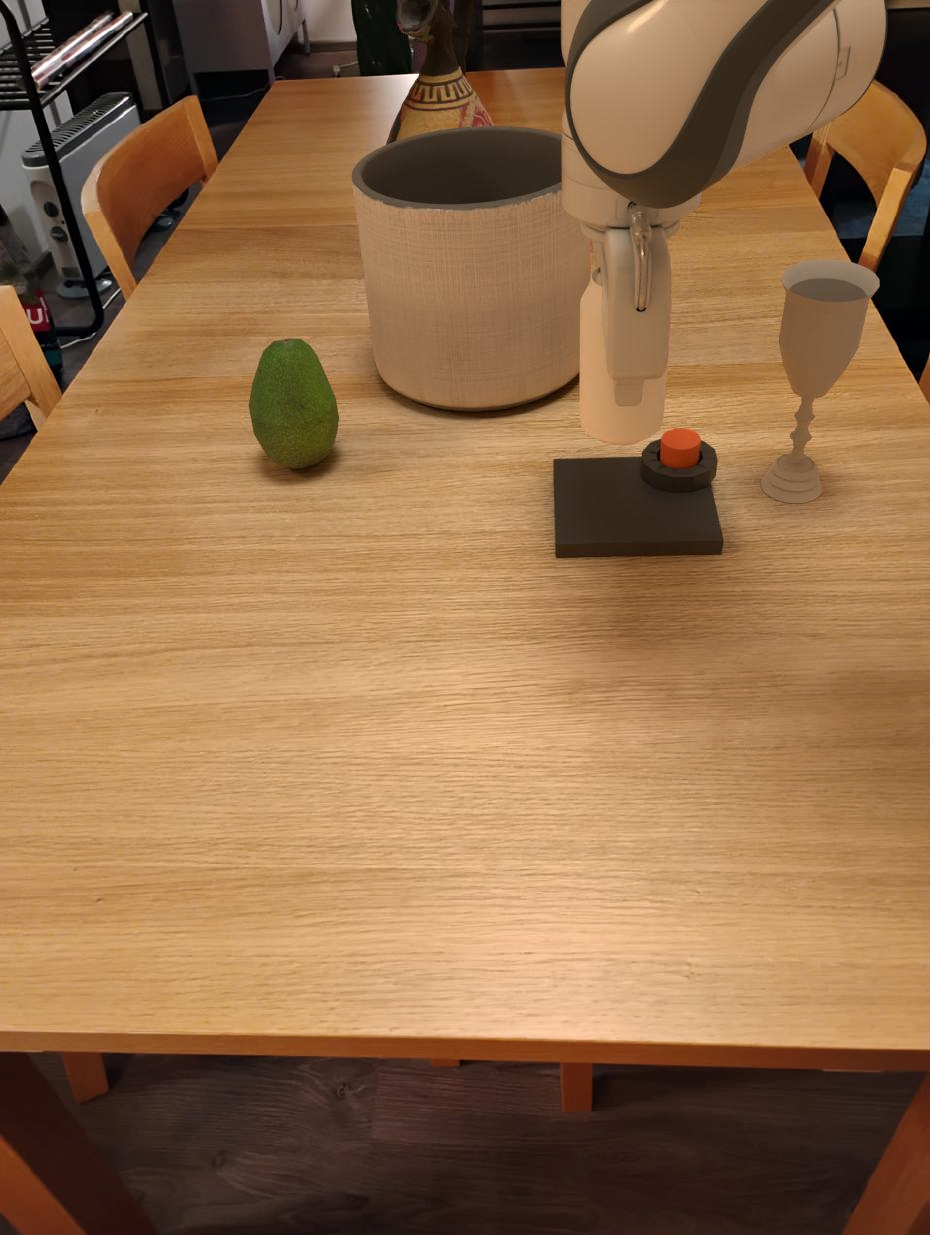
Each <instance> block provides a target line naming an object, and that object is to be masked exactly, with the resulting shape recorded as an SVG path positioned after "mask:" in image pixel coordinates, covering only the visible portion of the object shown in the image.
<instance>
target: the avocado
mask: <svg viewBox="0 0 930 1235" xmlns="http://www.w3.org/2000/svg"><path fill="white" fill-rule="evenodd" d="M250 389H251V390H250V394H249V400H248V409H249V414H250V415H249V416H250V420H251V426H252V431H253V434H254V436H255V438H256V440H257V442H258V444H259V446H260V448H261V449H262V450H263V452H264V453H265V455H266V457H267V458H268V459H270V460H271V461H272V462H274V463H275V464H277V465H279V466H281V467H284V468H287V469H293V470H294V469H295V470H303V469H305V468H308V467H311V466H313V465H315V464H318V463H320V462H321V461H323V460H324V459H325V458H326V457H327V456H328V455H329V454H330V452H331V451H332V450H333V447H334V444H335V442H336V438H337V435H338V430H339V424H340V423H339V422H340V415H339V409H338V402H337V398H336V395H335V392H334V390H333V388H332V386H331V384H330V381H329V378H328V376H327V374H326V372H325V370H324V368H323V366H322V363H321V361H320V358H319V356H318V355H317V353H316V351H315V350H314V349H313V347H312V346H311V345H310V344H309V343H308V342H306V341H305V340H303V339H302V338H286V339H285V338H284V339H278V340H273V341H272V342H271V343H270V344H269V345H268V346H267V347H265V348H264V350H263V351H262V354H261V355H260V358H259V361H258V364H257V368H256V371H255V373H254V376H253V380H252V383H251V388H250Z"/></svg>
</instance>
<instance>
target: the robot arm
mask: <svg viewBox="0 0 930 1235" xmlns="http://www.w3.org/2000/svg"><path fill="white" fill-rule="evenodd" d="M560 5H561V7H560V12H561V13H560V46H561V47H560V48H561V54H562V59H563V62H564V66H565V73H564V90H563V93H564V94H563V95H564V108H563V112H562V117H561V135H562V206H563V208H564V209H565V211H566V212H567V213H568V214H569V215H571V216H573V217H574V218H576V219H579V220H581V230H582V233H583V234H584V235H585V236H586V237H588V238H589V239H590V240H591V245H592V250H593V255H594V263H595V269H596V268H598V267H599V266H600V277H601V285H602V327H603V336H604V345H605V354H606V363H607V370H608V374H609V376H610V377H611V378H612V379H614V380H615V381H614V395H615V402H616V404H617V405H619V406H636V405H638V404H640V402H641V400H642V386H643V381H644V380H646V379H657V378H660V377H662V376H663V375H664V373H665V370H666V367H667V368H668V366H667V362H668V363H669V353H668V350H669V351H670V340H669V332H670V333H671V326H670V311H671V297H672V264H671V252H670V249H669V245H668V241H667V240H669V239H670V238H672V237H673V236H674V235H676V233H678V231H679V230H680V225H681V224H680V223H681V219H684V218H686V217H687V216H689V215H691V214H692V213H694V212H695V211H696V210H697V209H698V208H699V207H700V205H701V203H702V200H703V192H704V191H705V190H707V189H708V188H711V187H712V186H714V185H715V184H717V183H718V182H720V181H722V180H723V179H724V178H725V177H726V176H728V175H730V174H732V173H734V172H736V171H739V170H740V169H743V168H744V167H746V166H748V165H750V164H753V163H754V162H757V161H759V160H760V159H763V158H765V157H767V156H770V155H772V154H773V153H776V152H778V151H779V150H781V149H784V148H786V147H787V146H789V145H790V144H792V143H794V142H796V141H798V140H800V139H802V138H804V137H807V136H808V135H810V134H813V133H814V132H817V131H818V130H819V129H821V128H824V127H826V126H828V125H829V124H830V123H832V122H833V121H835V120H836V119H838V118H840V117H841V116H843V115H844V114H845V113H847V112H849V111H850V110H851V109H852V108H853V107H854V106H856V105H857V104H858V103H859V101H861V99H862V98H863V96H864V95H865V94H866V93H867V91H868V90H869V89H870V87H871V85H872V83H873V81H874V80H875V77H876V76H877V74H878V71H879V69H880V66H881V63H882V61H883V58H884V53H885V50H886V45H887V37H888V28H889V26H888V24H889V23H888V22H889V20H888V19H889V18H888V17H889V16H888V6H887V5H888V4H887V0H561V4H560ZM637 308H638V310H639V311H642V310H643V309H644V308H646V310H645V311H643V312H639V311H638V312H637V310H636V309H637Z"/></svg>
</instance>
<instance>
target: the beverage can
mask: <svg viewBox="0 0 930 1235" xmlns="http://www.w3.org/2000/svg"><path fill="white" fill-rule="evenodd" d="M636 310H637V312H638V311H639V310H638V308H637V309H636ZM645 310H646V308H644V309H643V310H642V311H639V312H643V311H645ZM672 310H673V297H672V296H671V311H670V327H671V326H672V325H671V324H672V312H673V311H672ZM670 337H671V331H670V332H669V341H670ZM669 352H670V349H669V350H668V354H669ZM668 365H669V361H668V362H667V367H666V370H665V373H664V375H663V376H662V377H660V378H657V379H646V380H644V381H643V386H642V400H641V402H640V404H638V405H636V406H619V405H617V404H616V402H615V395H614V381H615V380H614V379H612V378H611V377H610V376H609V374H608V370H607V363H606V354H605V345H604V336H603V327H602V285H601V277H600V266H599V267H598V268H596V267H595V268H594V269H593V271H591V276H590V283H589V285H588V286H587V288H586V290H585V292H584V294H583V296H582V297H581V301H580V372H579V423H580V426H581V429H582V430H583V431H584V432H585V433H586V434H587V435H588V436H590V437H591V438H593V439H595V440H598V441H599V442H602V443H604V444H607V445H611V446H621V447H622V446H630V445H631V446H632V445H635V444H638V443H641V442H643V441H645V440H647V439H649V438H651V437H653V436H654V435H655V434H657V433H658V432H659V431H660V430H661V429H662V426H663V422H664V415H665V405H666V404H665V403H666V392H667V390H666V389H667V378H668Z"/></svg>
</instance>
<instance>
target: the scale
mask: <svg viewBox="0 0 930 1235" xmlns="http://www.w3.org/2000/svg"><path fill="white" fill-rule="evenodd" d="M660 450H661V438H658V439H655V440H653V441H651V442H649V443H648V444H647V445H646V446H645V448H644V449H643V450H642V451H641V456H612V457H611V456H609V457H577V458H576V457H575V458H574V457H573V458H553V459H552V463H553V464H552V466H553V467H552V469H553V474H552V475H553V477H552V478H553V506H554V507H553V510H554V511H553V512H554V544H555V545H554V550H555V551H554V552H555V554H554V555H555V558H588V557H589V558H592V557H595V558H596V557H637V556H638V557H639V556H641V557H642V556H685V555H686V556H687V555H688V556H690V555H696V556H697V555H722V554H723V550H724V542H725V539H724V536H723V531H722V527H721V522H720V519H719V518H720V517H719V512H718V509H717V505H716V501H715V500H716V499H715V496H714V492H713V487H712V482H713V480H714V479H715V478H716V476H717V470H718V462H719V460H718V456H717V451H716V449H715V448H714V447H713V446H711V445H710V444H709V443H707V441H705V440H702V439H701V444H700V453H699V461H698V463H697V464H696V465H695V466H693V467H690V468H680V469H676V468H672V467H669V466H665V465H663V464H662V463H661V461H660Z"/></svg>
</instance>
